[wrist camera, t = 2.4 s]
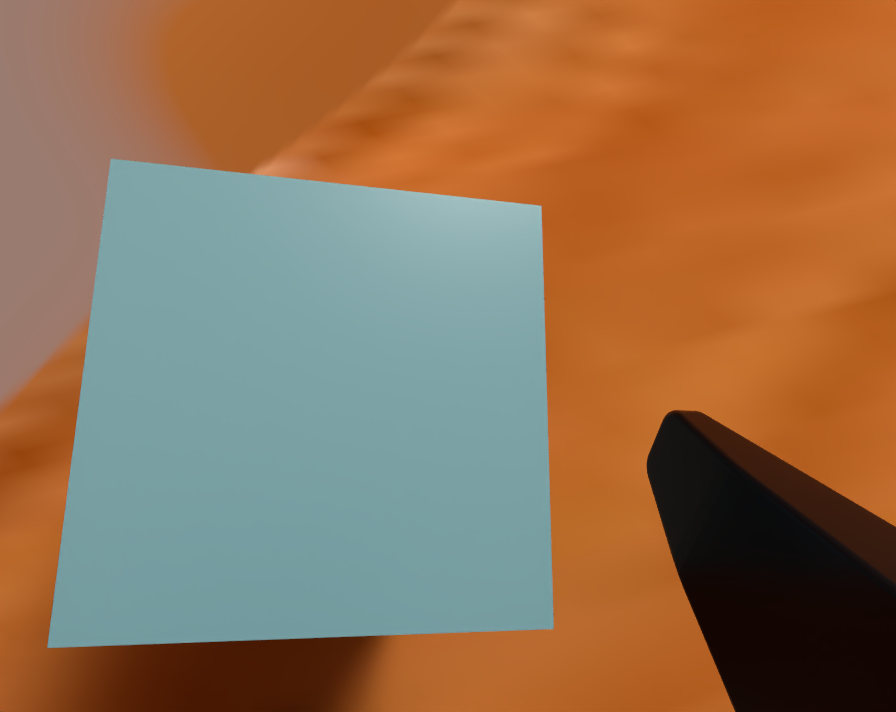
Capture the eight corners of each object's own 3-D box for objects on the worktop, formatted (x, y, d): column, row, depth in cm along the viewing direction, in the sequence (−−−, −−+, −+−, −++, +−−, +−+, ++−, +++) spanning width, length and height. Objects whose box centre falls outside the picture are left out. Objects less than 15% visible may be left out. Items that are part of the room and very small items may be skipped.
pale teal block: (410, 561, 16) (554, 629, 7) (191, 564, 15) (47, 649, 6) (413, 359, 17) (541, 206, 8) (210, 348, 16) (110, 159, 7)
